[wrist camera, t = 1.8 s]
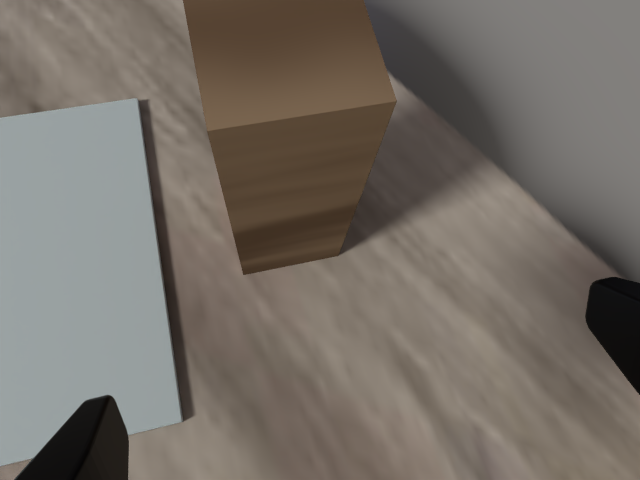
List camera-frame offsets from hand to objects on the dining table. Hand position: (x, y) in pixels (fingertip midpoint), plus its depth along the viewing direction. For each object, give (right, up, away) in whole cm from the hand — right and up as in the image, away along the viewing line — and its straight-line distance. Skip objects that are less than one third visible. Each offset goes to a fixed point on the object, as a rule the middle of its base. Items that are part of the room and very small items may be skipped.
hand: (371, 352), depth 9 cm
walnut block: (-3, +3, +15) cm, 16 cm away
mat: (-16, 0, +13) cm, 21 cm away
